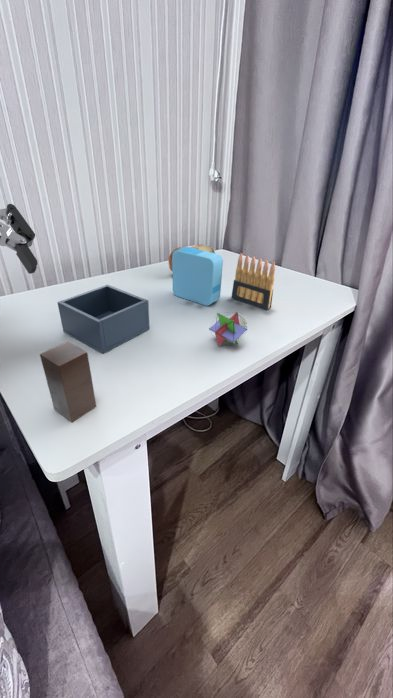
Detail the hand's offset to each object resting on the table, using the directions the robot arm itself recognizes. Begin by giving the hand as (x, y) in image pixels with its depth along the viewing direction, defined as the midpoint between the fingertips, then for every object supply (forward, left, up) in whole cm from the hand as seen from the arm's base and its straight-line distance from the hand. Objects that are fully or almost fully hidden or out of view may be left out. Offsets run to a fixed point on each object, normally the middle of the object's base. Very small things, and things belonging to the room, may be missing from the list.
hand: (5, 278), depth 46 cm
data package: (+43, +11, -18) cm, 48 cm away
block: (+3, -11, -18) cm, 21 cm away
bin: (+17, +8, -18) cm, 26 cm away
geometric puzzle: (+35, -10, -18) cm, 40 cm away
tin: (+53, +26, -18) cm, 62 cm away
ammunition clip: (+53, +1, -18) cm, 56 cm away
